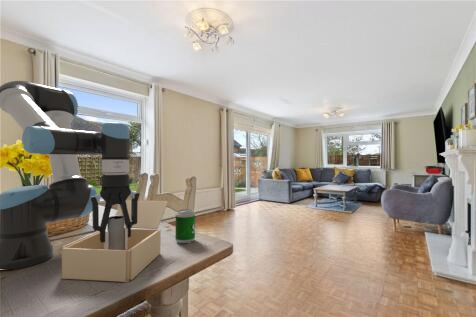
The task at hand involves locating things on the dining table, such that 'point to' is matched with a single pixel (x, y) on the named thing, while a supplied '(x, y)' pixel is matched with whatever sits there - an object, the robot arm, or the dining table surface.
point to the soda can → (185, 226)
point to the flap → (146, 213)
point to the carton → (110, 257)
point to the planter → (116, 232)
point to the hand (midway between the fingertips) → (115, 250)
